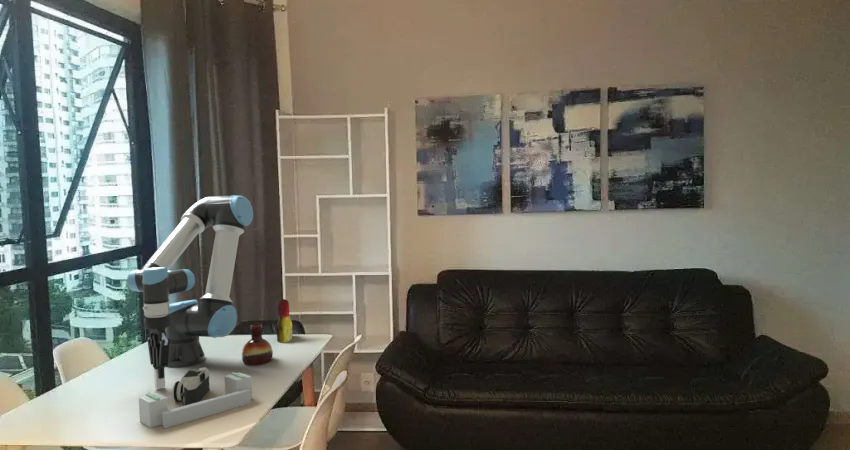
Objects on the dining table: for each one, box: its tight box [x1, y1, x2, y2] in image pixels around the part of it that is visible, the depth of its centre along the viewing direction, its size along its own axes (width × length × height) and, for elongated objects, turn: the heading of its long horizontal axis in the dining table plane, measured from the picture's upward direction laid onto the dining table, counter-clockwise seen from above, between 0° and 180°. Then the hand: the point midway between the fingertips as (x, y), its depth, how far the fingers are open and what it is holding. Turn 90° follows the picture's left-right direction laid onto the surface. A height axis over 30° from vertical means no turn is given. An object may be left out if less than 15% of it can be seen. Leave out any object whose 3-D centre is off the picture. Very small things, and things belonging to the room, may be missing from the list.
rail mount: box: [138, 371, 253, 429], centre depth 177 cm, size 10×31×8 cm, turn 137°
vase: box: [241, 323, 274, 366], centre depth 224 cm, size 11×11×15 cm
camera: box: [171, 366, 210, 406], centre depth 187 cm, size 16×9×10 cm, turn 3°
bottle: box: [276, 298, 293, 344], centre depth 254 cm, size 12×6×20 cm, turn 1°
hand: (160, 387), depth 196 cm, fingers closed
